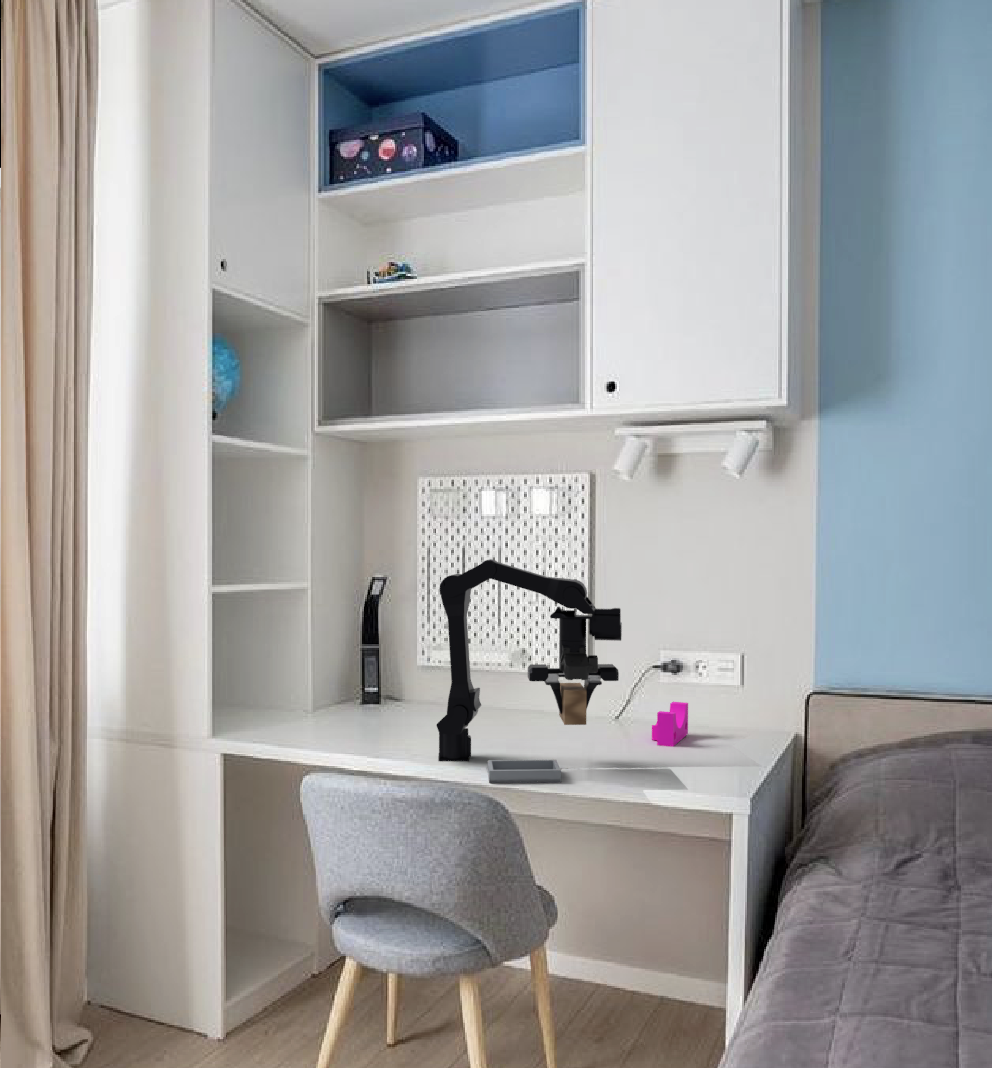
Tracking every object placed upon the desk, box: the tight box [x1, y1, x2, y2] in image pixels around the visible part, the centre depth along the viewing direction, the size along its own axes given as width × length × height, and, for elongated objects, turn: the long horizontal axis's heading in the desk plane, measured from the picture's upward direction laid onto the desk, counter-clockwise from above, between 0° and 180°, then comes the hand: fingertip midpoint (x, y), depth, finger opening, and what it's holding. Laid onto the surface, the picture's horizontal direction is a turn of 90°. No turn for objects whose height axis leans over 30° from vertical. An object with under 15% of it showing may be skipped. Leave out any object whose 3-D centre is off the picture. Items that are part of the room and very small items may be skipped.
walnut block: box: [558, 682, 587, 726], centre depth 207 cm, size 4×10×7 cm, turn 3°
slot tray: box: [487, 759, 562, 784], centre depth 197 cm, size 14×9×2 cm, turn 93°
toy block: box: [651, 701, 689, 748], centre depth 233 cm, size 15×6×8 cm, turn 156°
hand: (572, 713), depth 207 cm, fingers closed on walnut block, 4 cm apart
